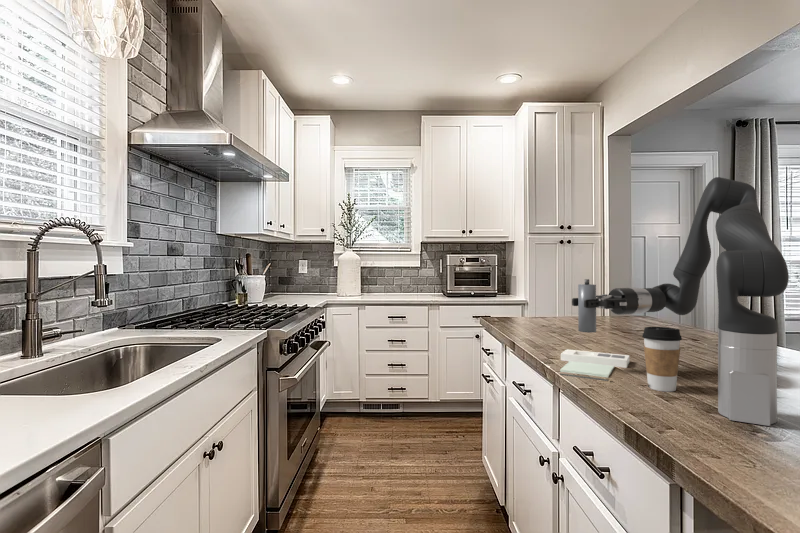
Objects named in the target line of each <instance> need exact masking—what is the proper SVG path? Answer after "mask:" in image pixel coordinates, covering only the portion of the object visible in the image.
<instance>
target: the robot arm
mask: <svg viewBox="0 0 800 533" xmlns="http://www.w3.org/2000/svg"><path fill="white" fill-rule="evenodd" d="M711 213H715V214H718V215H719V216H718V217H717V219H716V222H715V225H714V227H715V233H716V238H717V241H718V243H719V244H720V246H721V247H722V248H723V249H724V250H725V251H721V253H719V255H718V256H717V261H716V266H715V267H716V268H715V269H716V270H715V271H716V272H715V273H716V286H717V305H718V307H717V309H718V310H717V311H718V312H717V316H718V317H717V393H718V394H717V412H718V413H719V414H720V415H721V416H723V417H726V418H727V419H728V420H730V421H733V422H734V421H736V422H742V423H746V424H747V423H748V424H756V425H761V426H765V427H766V426H768V427H771V425H772V424H775V423H777V422H778V391H777V390H778V386H777V385H778V352H777V351H778V349H777V348H778V322H777V319H776V318H775V317H772V316H770V315H767V314H765V313H764V314H763V313H761V312H758V311H755V310H752V309H749V308H748V307H746V306H744V305H743V304H741V303H740V302H739V300H738V297H753V298H755V297H757V298H758V297H759V298H760V297H761V298H769V297H777V296H780V295H781V294H783V293H784V292H785V291H786V289H787V287H788V284H789V269H788V265H787V262H786V260H785V258H784V255H783V253H781V251H780V250H779V249H778V247H777V246H776V244H775V243H774V241H773V240H772V238H771V236H770V234H769V231H768V230H769V229H768V228H767V225H766V222H765V220H764V218H763V216H762V215H761V212H760V209H759V207H758V199H757V193H756V189H755V187H754V186H753V185H751V184H749V183H746V182H743V181H738V180H734V179H730V178H725V177H719V176H717V177H714V178H712V179H711V180H710V181H709V182H708V183H707V185H706V187H705V188H704V190H703V191H702V194H701V197H700V199H699V202H698V205H697V209H696V212H695V215H694V217H693V221H692V223H691V226H690V230H689V232H688V236H687V240H686V243H685V245H684V248H683V249H682V250H683V251H682V253H681V254H680V257H679V259H678V261H677V263H676V265H675V267H674V270H673V271H672V272H673V273H672V275H673V277H674V278H675V280H677V282H678V283H679V286H677V285H676V284H673V283H662V284H659V285H656V286H653V287H645V288H644V287H643V288H642V287H615V288H612V289H611V290H610V291H609V292H608V294H605V293H604V294H600V295H599V294H598V295H597V294H596V299H588V300H584V307H585V308H596V309H602V310H610V312H612V313H613V314H615V315H619V316H620V315H638V314H642V313H644V314H645V313H655V312H660V311H662V310H664V309H665V308H666V309H668V310H670V311H671V312H672V313H674V314H676V315H679V316H686V315H688V314H690V313H691V312H692V311H693V310H694V309H695V308H696V305H697V303H698V299H699V292H700V286H701V279H702V278H703V276H704V274H705V272H706V270H707V268H708V266H709V264H710V261H711V258H712V250H711V249H712V248H711V244H710V238H709V234H708V219H709V216H710V214H711ZM571 305H572V306H573V307H578V297H573V298H571Z"/></svg>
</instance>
